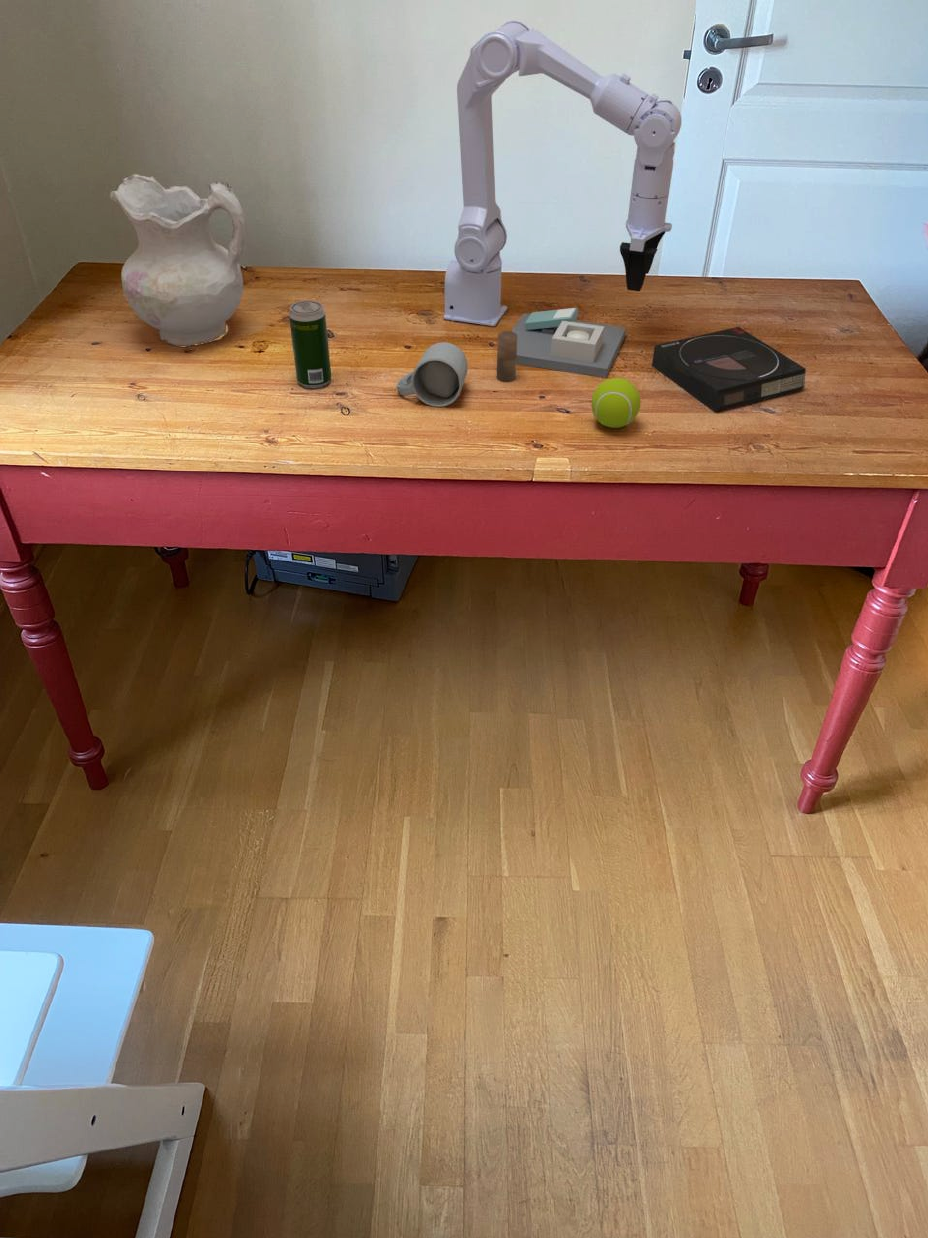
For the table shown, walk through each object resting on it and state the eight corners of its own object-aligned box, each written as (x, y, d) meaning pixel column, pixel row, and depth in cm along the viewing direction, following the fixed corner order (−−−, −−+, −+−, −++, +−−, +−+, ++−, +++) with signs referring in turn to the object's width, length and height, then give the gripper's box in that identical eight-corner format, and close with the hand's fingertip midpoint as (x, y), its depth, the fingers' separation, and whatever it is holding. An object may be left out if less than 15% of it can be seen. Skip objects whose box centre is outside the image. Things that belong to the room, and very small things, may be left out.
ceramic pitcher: (272, 315, 167) (252, 163, 152) (255, 356, 152) (232, 192, 137) (150, 317, 167) (118, 164, 152) (121, 358, 151) (83, 193, 136)
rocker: (526, 329, 157) (524, 322, 156) (533, 319, 160) (531, 311, 159) (572, 325, 154) (570, 317, 153) (578, 314, 157) (577, 306, 156)
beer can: (336, 385, 145) (329, 310, 138) (303, 392, 144) (294, 317, 136) (325, 370, 149) (317, 297, 141) (292, 377, 147) (283, 303, 139)
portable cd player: (715, 416, 140) (720, 392, 137) (651, 368, 151) (654, 345, 149) (802, 394, 145) (808, 370, 142) (733, 349, 157) (738, 326, 154)
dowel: (494, 380, 147) (495, 337, 142) (499, 371, 149) (501, 329, 145) (512, 383, 146) (514, 340, 142) (517, 374, 148) (519, 332, 144)
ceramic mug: (469, 383, 146) (469, 336, 141) (461, 409, 140) (461, 361, 135) (403, 379, 147) (400, 333, 142) (392, 405, 141) (389, 357, 136)
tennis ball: (633, 439, 134) (640, 395, 129) (585, 432, 135) (590, 388, 130) (640, 416, 139) (646, 372, 134) (593, 409, 140) (598, 366, 136)
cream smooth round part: (563, 346, 150) (564, 337, 149) (569, 337, 153) (569, 328, 152) (585, 350, 149) (586, 341, 148) (590, 340, 152) (591, 331, 151)
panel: (496, 360, 152) (497, 334, 149) (523, 321, 163) (524, 296, 160) (605, 377, 148) (609, 350, 145) (625, 335, 159) (628, 310, 156)
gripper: (668, 210, 136) (655, 301, 145) (682, 181, 147) (669, 267, 156) (621, 205, 138) (610, 295, 147) (638, 176, 148) (627, 262, 157)
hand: (638, 280), depth 152 cm, fingers open, 7 cm apart
